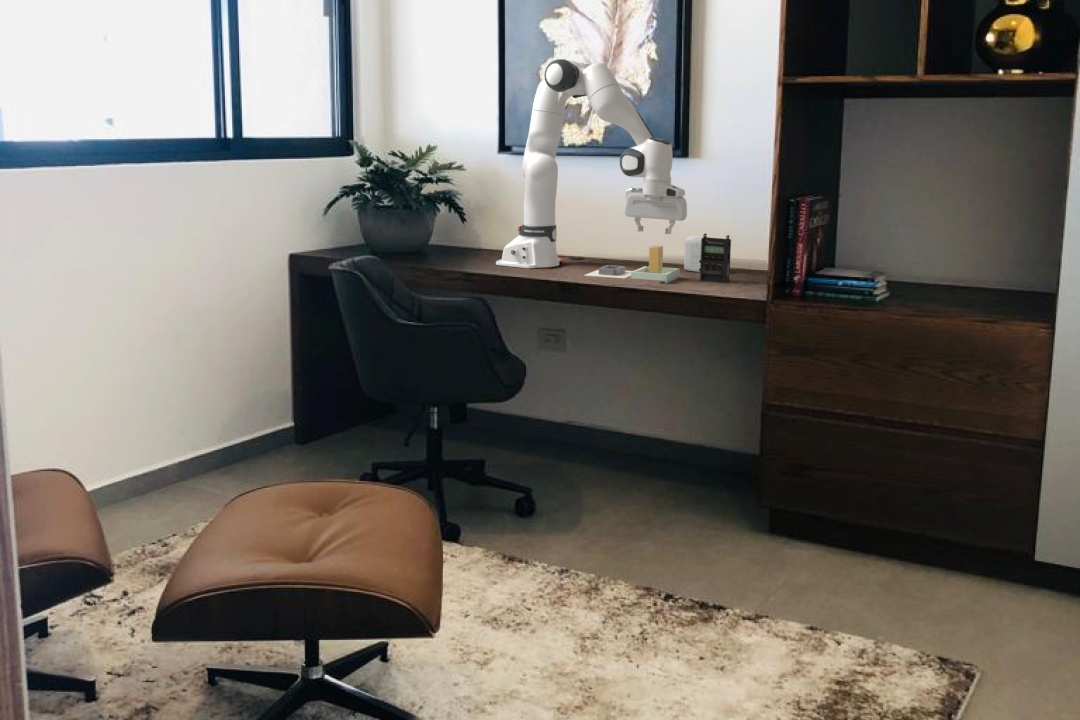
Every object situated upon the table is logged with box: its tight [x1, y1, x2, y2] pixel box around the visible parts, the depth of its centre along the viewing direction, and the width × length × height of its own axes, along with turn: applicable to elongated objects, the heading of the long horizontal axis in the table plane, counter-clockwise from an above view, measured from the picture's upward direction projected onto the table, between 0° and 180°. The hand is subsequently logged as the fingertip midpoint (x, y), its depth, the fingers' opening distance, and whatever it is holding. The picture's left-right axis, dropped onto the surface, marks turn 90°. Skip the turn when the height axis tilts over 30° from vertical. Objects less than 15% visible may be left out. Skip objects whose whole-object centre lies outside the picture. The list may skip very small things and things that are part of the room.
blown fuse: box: [648, 245, 664, 274], centre depth 359 cm, size 3×5×10 cm, turn 157°
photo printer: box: [683, 234, 711, 273], centre depth 376 cm, size 10×4×12 cm, turn 56°
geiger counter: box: [699, 233, 732, 284], centre depth 356 cm, size 10×4×15 cm, turn 56°
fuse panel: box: [583, 264, 633, 279], centre depth 366 cm, size 14×16×3 cm
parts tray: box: [630, 265, 680, 285], centre depth 360 cm, size 12×14×3 cm
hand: (654, 232), depth 356 cm, fingers open, 8 cm apart
